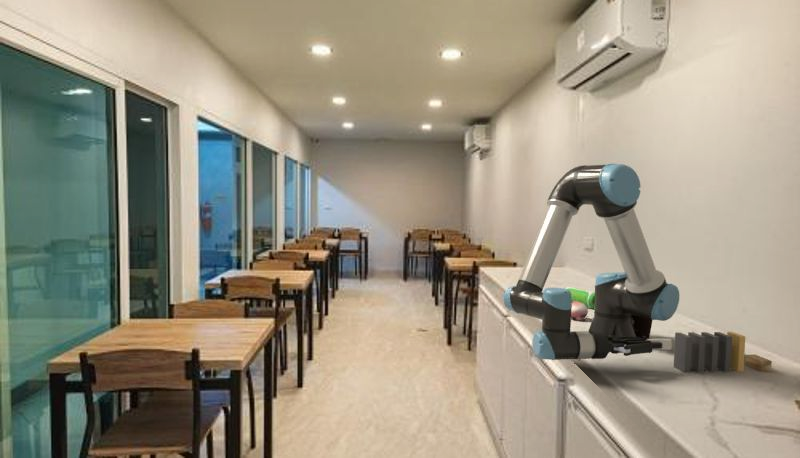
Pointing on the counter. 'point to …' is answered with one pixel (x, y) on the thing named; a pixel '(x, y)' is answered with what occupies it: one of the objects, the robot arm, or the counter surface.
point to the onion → (578, 311)
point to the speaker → (582, 296)
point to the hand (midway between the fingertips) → (669, 343)
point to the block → (758, 363)
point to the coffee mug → (641, 326)
